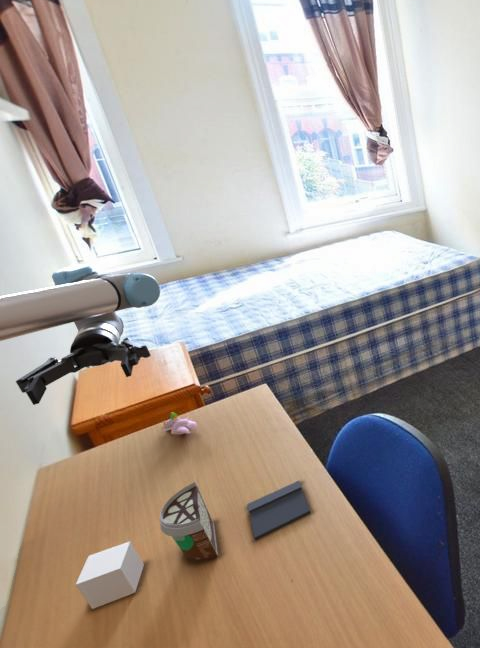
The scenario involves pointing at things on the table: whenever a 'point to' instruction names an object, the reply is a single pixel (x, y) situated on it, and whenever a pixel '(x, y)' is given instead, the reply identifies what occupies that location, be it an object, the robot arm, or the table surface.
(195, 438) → the table surface
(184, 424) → the rabbit figure
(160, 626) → the table surface
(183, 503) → the food container
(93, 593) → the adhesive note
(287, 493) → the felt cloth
